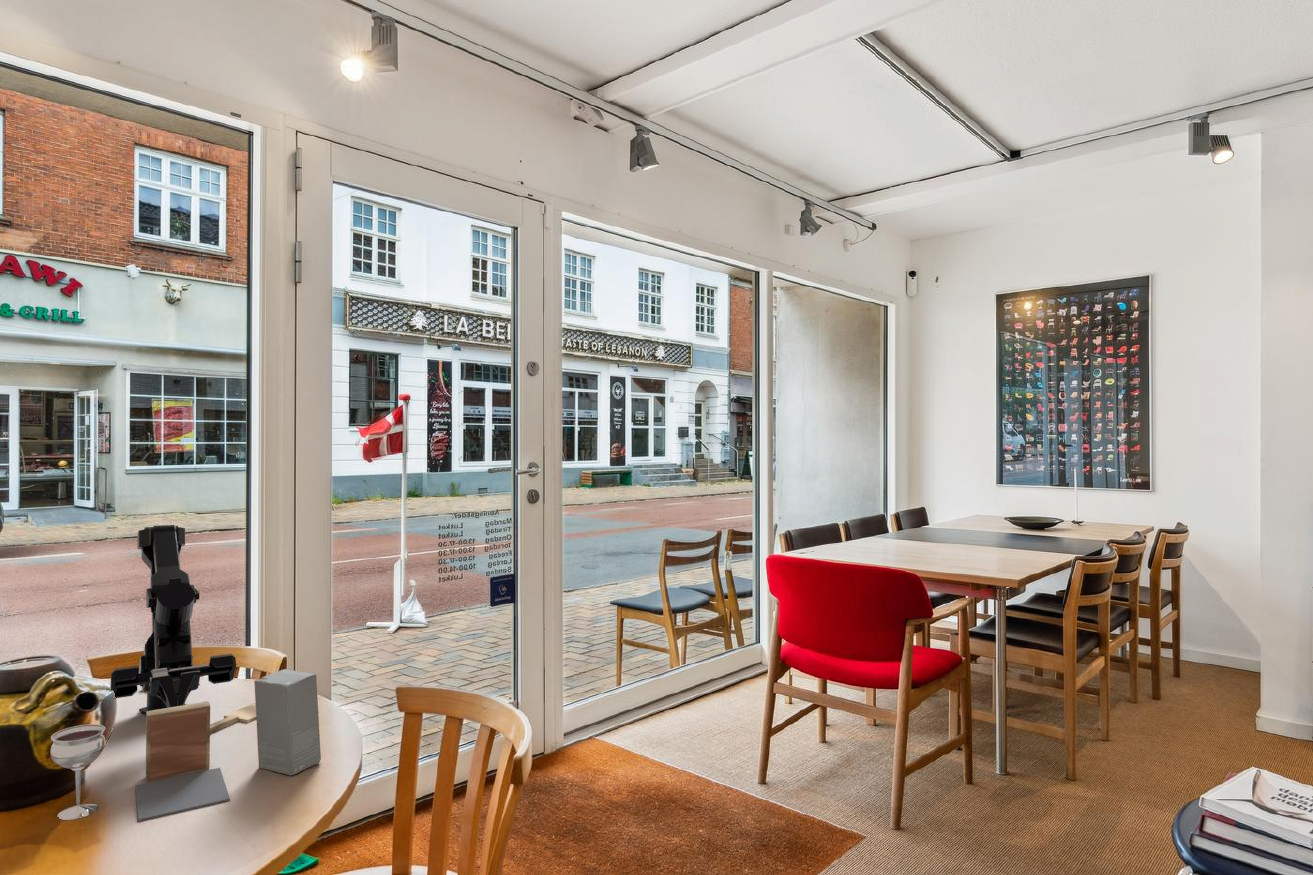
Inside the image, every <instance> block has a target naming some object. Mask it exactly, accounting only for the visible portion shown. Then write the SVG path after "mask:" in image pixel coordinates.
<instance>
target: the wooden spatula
mask: <svg viewBox="0 0 1313 875" xmlns="http://www.w3.org/2000/svg"><path fill="white" fill-rule="evenodd" d="M255 720H256V702H254V703H252V704H249V705H246V706H244V707H242V708H240V709H237V710H235V711H232V712H229V713H226V714H224V715H223V718H222V719H219V720H217V721H215V722H212V723H210V734H214V733H215V732H218V731H220V730H221V729H224V728H227V727H229V726H231V725H234V724H236V723H238V722H239V723H246V724H249V723H251V722H253V721H255Z"/></svg>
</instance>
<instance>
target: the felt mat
mask: <svg viewBox="0 0 1313 875" xmlns="http://www.w3.org/2000/svg"><path fill="white" fill-rule="evenodd" d="M229 794H230V793H229V791H228V788H227V785H226V782H225V779H224V776H223V773H222V769H221V767H217V768H210V769H209V770H206V771H201V772H196V773H191V774H186V775H181V776H177V777H172V778H167V779H162V780H157V781H152V782H148V783H146V782H143V783H138V784H135V797H136V800H135V801H136V808H137V809H136V811H137V822H143V821H147V820H151V819H155V818H161V817H164V816H168V815H174V814H177V813H181V812H186V811H190V810H193V809H194V810H195V809H199V808H204V807H207V806H208V807H209V806H211V805H213V806H214V805H218V804H220V803H225V802H229V801H231V797H230V795H229Z"/></svg>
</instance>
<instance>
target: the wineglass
mask: <svg viewBox="0 0 1313 875" xmlns="http://www.w3.org/2000/svg"><path fill="white" fill-rule="evenodd" d="M105 731H106V726H104V725H103V724H94V723H93V724H92V723H90V724H80V725H74V726H71V727H66V728H63V729H60V730H58V731H56V732H55V733H53V734H52V735H51V736H50V739H51V741H52V745H51V747H50V751H49V752H50V757H51V759H52V761H53V763H55V764H57V765H58V766H60V767H62V768H65V769H70V770H72V771H73V772H74V774H75V776H74V777H75V779H74V780H75V795H76V796H75V797H76V805H73V806H69V807H67V808H65V809H63V810H61V811H60V812H59V813H57V818H58V817H59V818H58V819H60V820H62V821H63V820H64V821H67V820H68V821H71V820H77V819H81V818H84V817H87V816H89V815H91V814H94V813H95V812H96V811H97V810H98V809H99V805H98V804H96V803H90V802H89V803H81V788H82V786H81V785H82V784H81V783H82V770H84V769H85V768H86V767H87V766H88V765H90V764H92V763H94V762H95V761H96V760H97V759H98V758H99V757H100V756H101V755H102V754H103V752H104V750H105V748H106V745H107V744H106V737H105V736H106V735H104V732H105Z"/></svg>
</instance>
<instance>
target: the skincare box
mask: <svg viewBox="0 0 1313 875" xmlns="http://www.w3.org/2000/svg"><path fill="white" fill-rule="evenodd" d="M253 683H254V695H255V696H254V697H255V700H254V701H255V702H254V703H256V719H255V720H256V721H255V722H256V738H257V755H258V768H259V769H264V770H268V771H271V772H275V773H279V774H280V773H281V774H284V775H287V776H291V777H292V776H294V775H296V774H298V773H300V772H302V771H304V770H306V769H308V768H311V767H312V766H314V765H317V764H319V763H321V760H322V756H321V739H320V738H321V737H320V723H319V722H320V721H319V720H320V718H319V717H320V716H319V702H318V700H319V699H318V698H319V697H318V682H317V674H316V673H312V672H305V671H304V672H303V671H297V670H292V669H286V668H284V669H280V670H278V671H276V672H273V673H271V674H270V673H269V674H268V675H265V676H262V677H260V678H257V679H254V682H253Z"/></svg>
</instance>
